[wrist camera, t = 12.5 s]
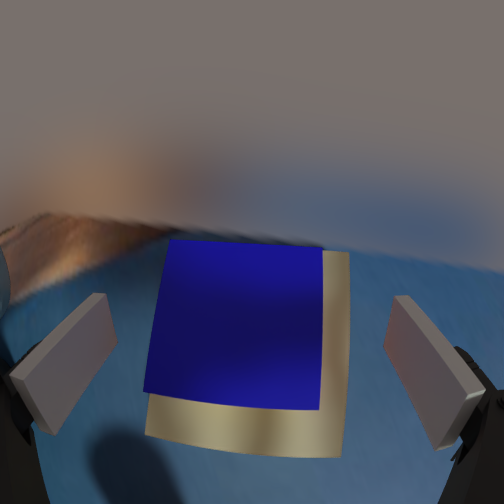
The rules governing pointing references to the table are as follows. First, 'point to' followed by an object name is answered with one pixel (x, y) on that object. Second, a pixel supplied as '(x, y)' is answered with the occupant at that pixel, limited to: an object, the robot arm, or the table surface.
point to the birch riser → (275, 420)
